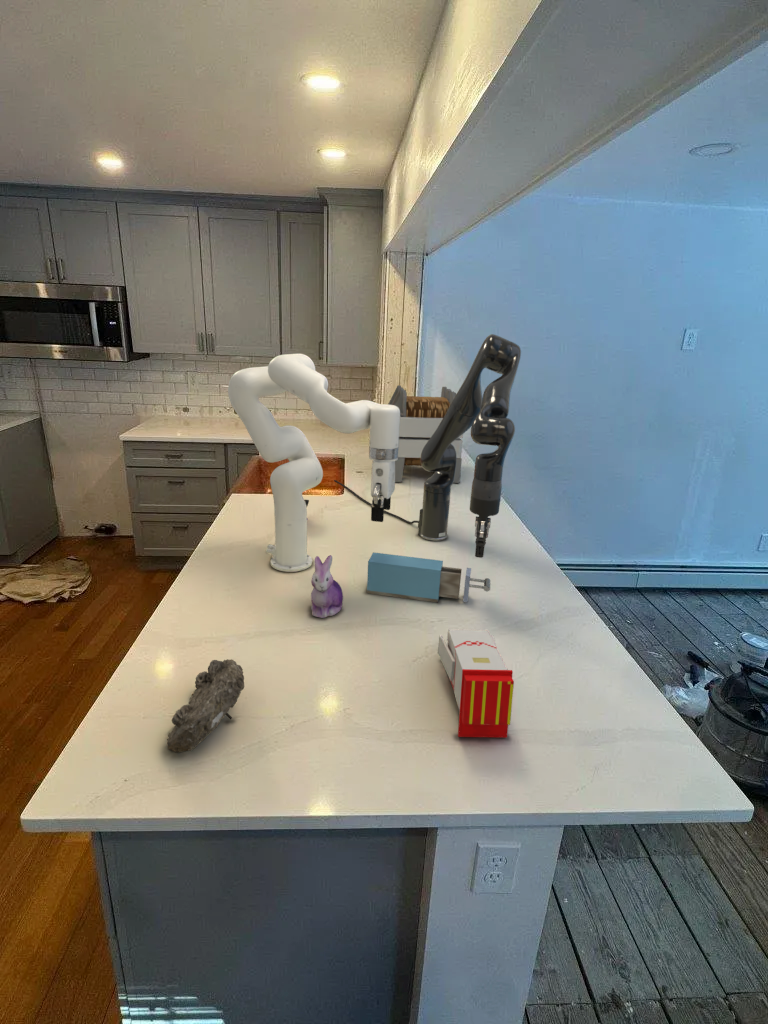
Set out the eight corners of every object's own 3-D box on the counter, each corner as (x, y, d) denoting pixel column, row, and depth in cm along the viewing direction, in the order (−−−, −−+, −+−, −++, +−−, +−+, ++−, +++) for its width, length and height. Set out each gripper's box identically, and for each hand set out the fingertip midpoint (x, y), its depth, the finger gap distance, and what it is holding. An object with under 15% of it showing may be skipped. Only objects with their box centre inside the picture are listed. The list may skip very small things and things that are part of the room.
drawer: (488, 596, 157) (491, 570, 154) (488, 605, 152) (491, 578, 150) (402, 584, 161) (403, 559, 159) (399, 593, 156) (400, 567, 154)
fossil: (192, 660, 117) (244, 628, 112) (224, 691, 120) (276, 661, 115) (142, 746, 98) (202, 712, 93) (182, 779, 101) (242, 748, 96)
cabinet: (440, 591, 160) (443, 560, 157) (437, 602, 154) (440, 570, 151) (371, 582, 164) (373, 552, 160) (366, 593, 158) (368, 561, 154)
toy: (488, 613, 130) (523, 677, 101) (484, 667, 133) (517, 744, 104) (435, 612, 130) (455, 676, 101) (432, 666, 133) (451, 743, 103)
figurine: (316, 622, 141) (316, 568, 136) (302, 604, 150) (302, 552, 145) (351, 615, 146) (352, 562, 140) (335, 597, 154) (336, 546, 149)
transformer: (382, 463, 289) (386, 382, 275) (445, 464, 293) (451, 384, 279) (390, 482, 257) (394, 392, 243) (460, 483, 261) (468, 394, 247)
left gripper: (391, 462, 138) (388, 527, 144) (403, 447, 154) (399, 506, 160) (361, 459, 139) (359, 524, 145) (376, 444, 155) (373, 503, 161)
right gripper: (500, 504, 138) (492, 568, 144) (500, 488, 151) (493, 548, 157) (469, 501, 140) (463, 564, 146) (472, 485, 152) (466, 545, 158)
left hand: (380, 515), depth 153 cm, fingers open, 9 cm apart
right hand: (479, 556), depth 151 cm, fingers closed
